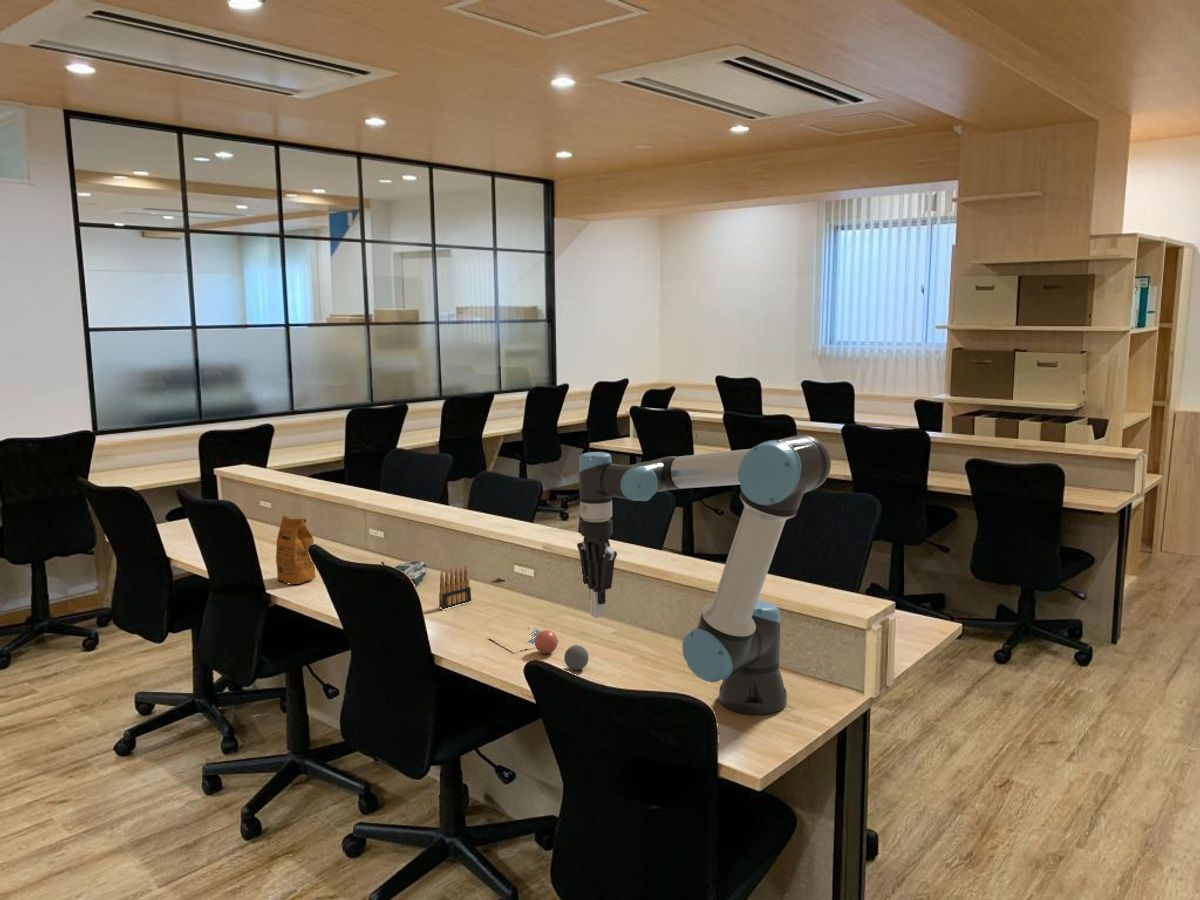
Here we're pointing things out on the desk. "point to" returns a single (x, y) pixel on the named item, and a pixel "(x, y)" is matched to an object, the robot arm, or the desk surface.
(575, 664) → the gray ball
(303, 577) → the coffee package
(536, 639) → the object ball
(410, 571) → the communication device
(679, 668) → the desk surface
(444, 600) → the ammunition clip
